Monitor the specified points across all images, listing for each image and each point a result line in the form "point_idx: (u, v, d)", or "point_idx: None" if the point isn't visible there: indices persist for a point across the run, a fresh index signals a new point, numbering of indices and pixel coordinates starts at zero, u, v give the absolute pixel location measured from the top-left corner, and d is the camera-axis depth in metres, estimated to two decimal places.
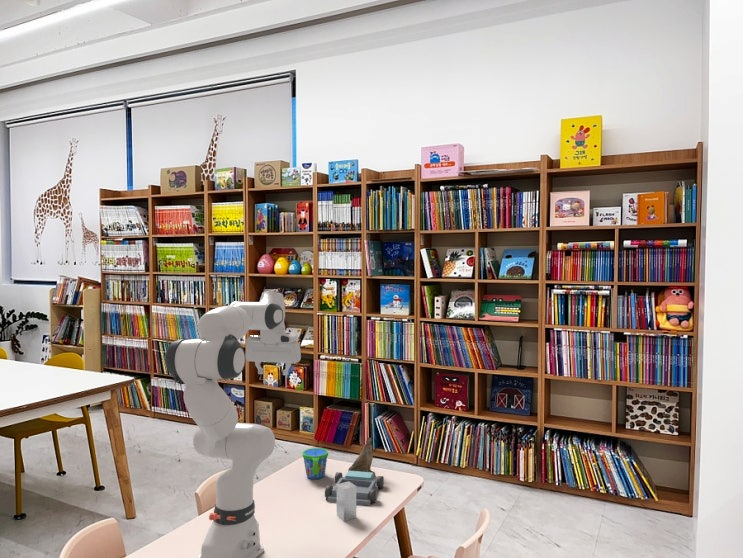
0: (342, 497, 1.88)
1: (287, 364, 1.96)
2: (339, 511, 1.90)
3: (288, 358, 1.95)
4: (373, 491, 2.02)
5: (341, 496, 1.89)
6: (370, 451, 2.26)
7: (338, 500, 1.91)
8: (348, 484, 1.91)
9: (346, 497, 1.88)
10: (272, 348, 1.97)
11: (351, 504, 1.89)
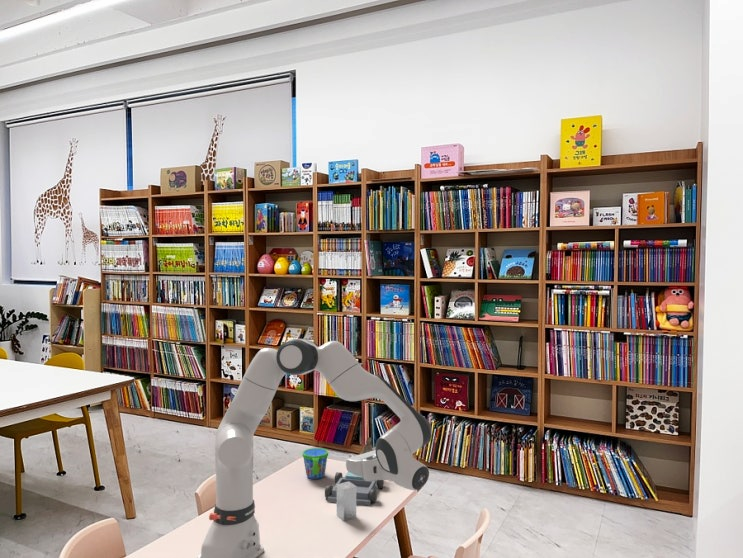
0: (342, 497, 1.88)
1: (354, 457, 1.75)
2: (339, 511, 1.90)
3: (356, 457, 1.73)
4: (373, 491, 2.02)
5: (341, 496, 1.89)
6: None
7: (338, 500, 1.91)
8: (348, 484, 1.91)
9: (346, 497, 1.88)
10: None
11: (351, 504, 1.89)
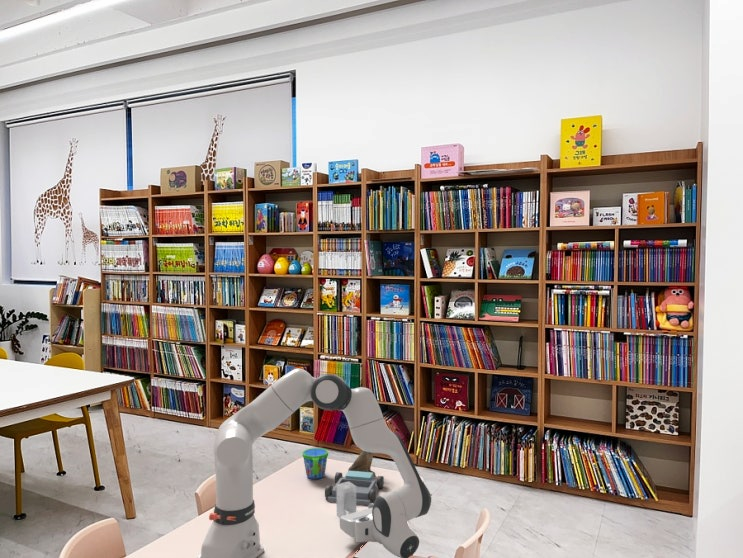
0: (342, 497, 1.88)
1: None
2: (339, 511, 1.90)
3: (350, 515, 1.75)
4: (373, 491, 2.02)
5: (341, 496, 1.89)
6: None
7: (338, 500, 1.91)
8: (348, 484, 1.91)
9: (346, 497, 1.88)
10: None
11: (351, 504, 1.89)
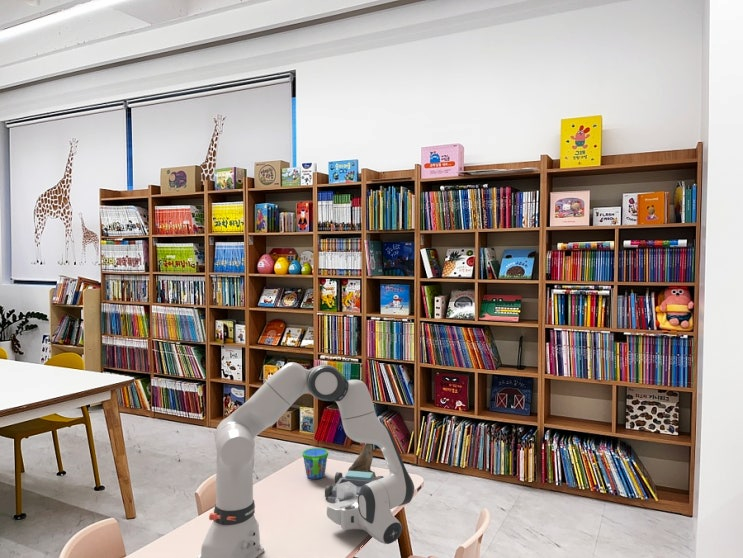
0: (342, 497, 1.88)
1: None
2: None
3: (337, 504, 1.83)
4: None
5: (341, 496, 1.89)
6: (370, 451, 2.26)
7: None
8: (348, 484, 1.91)
9: (346, 497, 1.88)
10: None
11: None
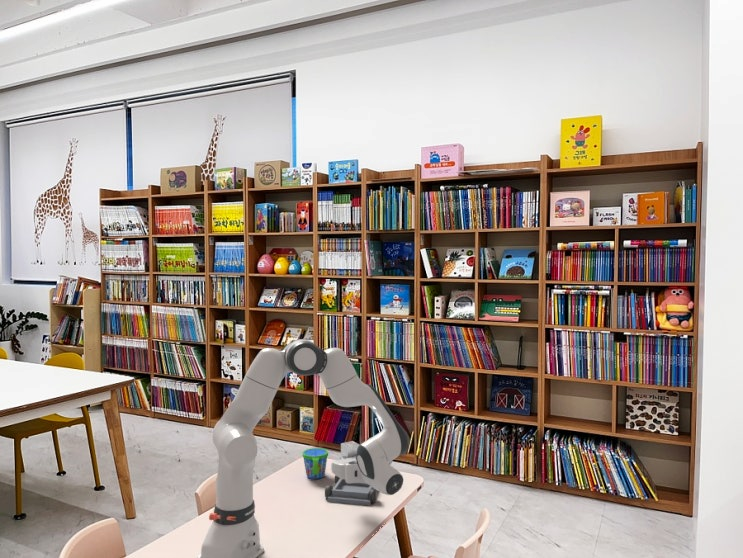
0: (347, 455, 1.95)
1: None
2: None
3: (341, 460, 1.90)
4: (373, 491, 2.02)
5: (345, 454, 1.95)
6: None
7: None
8: (352, 443, 1.98)
9: (350, 455, 1.95)
10: None
11: None
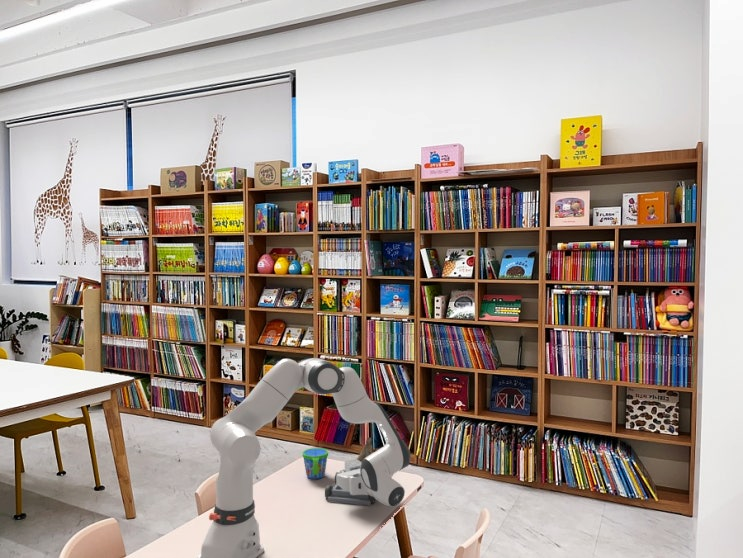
0: None
1: None
2: None
3: (345, 473, 2.01)
4: None
5: None
6: (370, 451, 2.26)
7: None
8: (355, 461, 2.09)
9: None
10: None
11: None
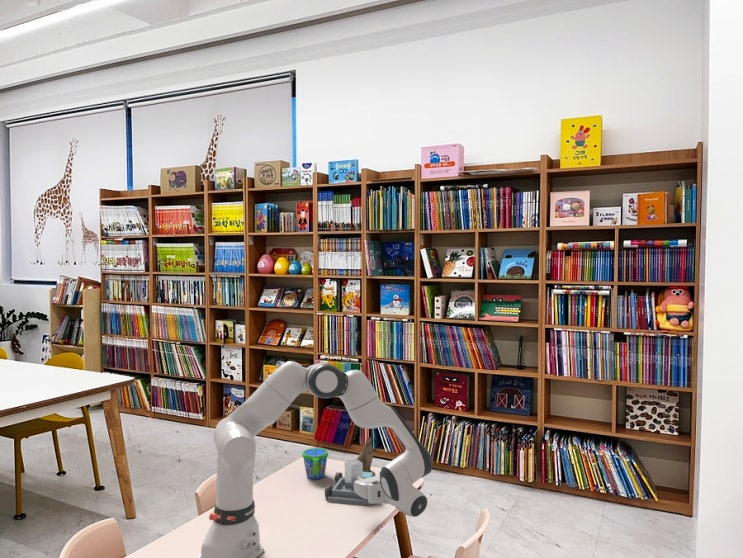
0: (350, 473, 2.06)
1: None
2: (347, 486, 2.08)
3: (363, 480, 1.90)
4: None
5: (349, 471, 2.06)
6: (370, 451, 2.26)
7: (346, 476, 2.09)
8: (355, 461, 2.09)
9: (354, 472, 2.06)
10: None
11: None
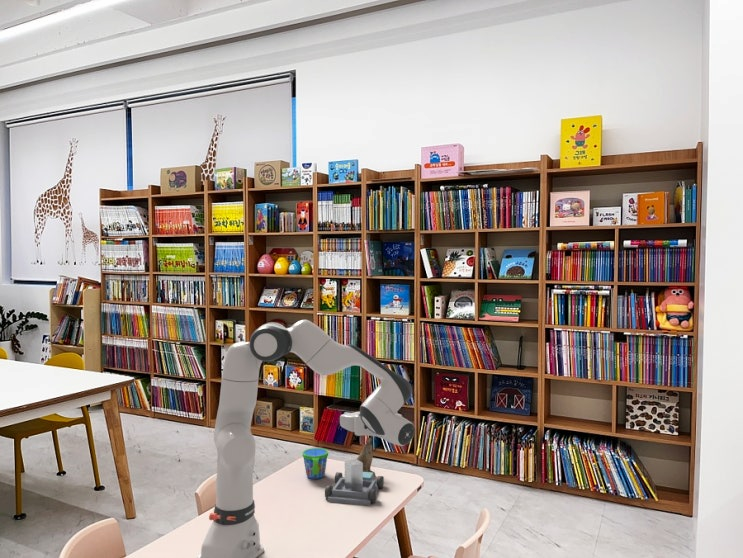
0: (350, 473, 2.06)
1: None
2: (347, 486, 2.08)
3: (350, 414, 1.83)
4: (373, 491, 2.02)
5: (349, 471, 2.06)
6: (370, 451, 2.26)
7: (346, 476, 2.09)
8: (355, 461, 2.09)
9: (354, 472, 2.06)
10: None
11: (358, 479, 2.07)
